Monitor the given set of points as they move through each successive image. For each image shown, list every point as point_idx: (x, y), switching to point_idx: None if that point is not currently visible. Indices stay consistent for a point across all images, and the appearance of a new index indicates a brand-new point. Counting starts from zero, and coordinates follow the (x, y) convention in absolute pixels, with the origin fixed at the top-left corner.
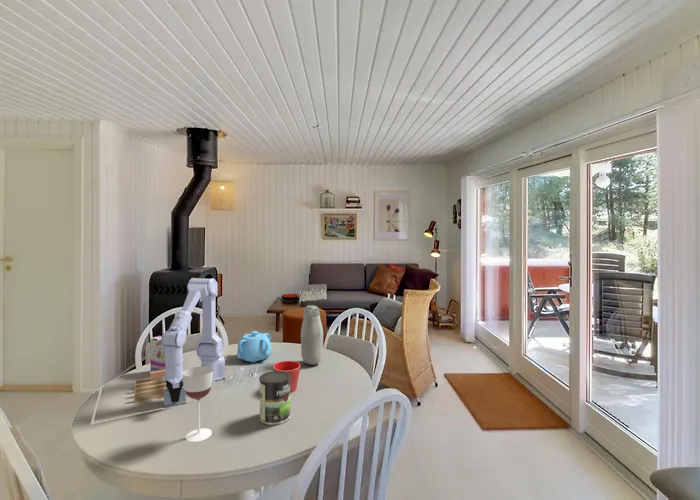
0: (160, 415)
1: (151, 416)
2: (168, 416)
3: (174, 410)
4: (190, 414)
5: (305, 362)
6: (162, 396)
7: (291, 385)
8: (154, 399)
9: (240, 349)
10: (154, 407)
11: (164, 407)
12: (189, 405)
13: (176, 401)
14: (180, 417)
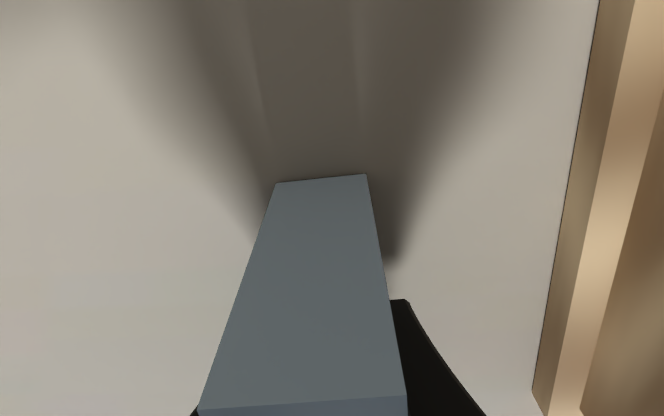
0: (68, 148)
1: (46, 18)
2: (32, 240)
3: (184, 289)
4: (63, 407)
5: None
6: (653, 152)
7: None
8: (635, 10)
9: None
10: (375, 32)
11: (275, 189)
12: None
13: None
14: (2, 342)
